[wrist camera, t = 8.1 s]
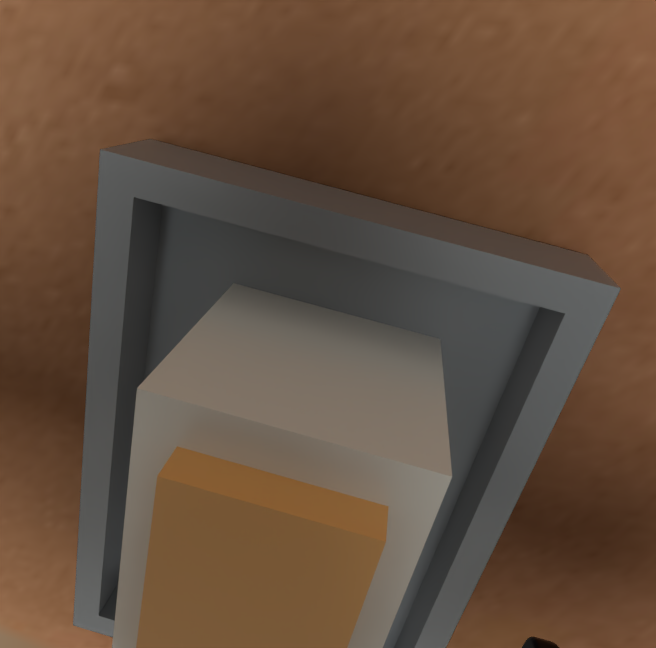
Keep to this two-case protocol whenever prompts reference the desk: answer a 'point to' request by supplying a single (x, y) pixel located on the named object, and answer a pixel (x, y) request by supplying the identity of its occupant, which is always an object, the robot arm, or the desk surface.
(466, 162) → the desk surface
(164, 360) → the white orange block
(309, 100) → the desk surface
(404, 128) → the desk surface
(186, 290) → the grey rectangular tray
